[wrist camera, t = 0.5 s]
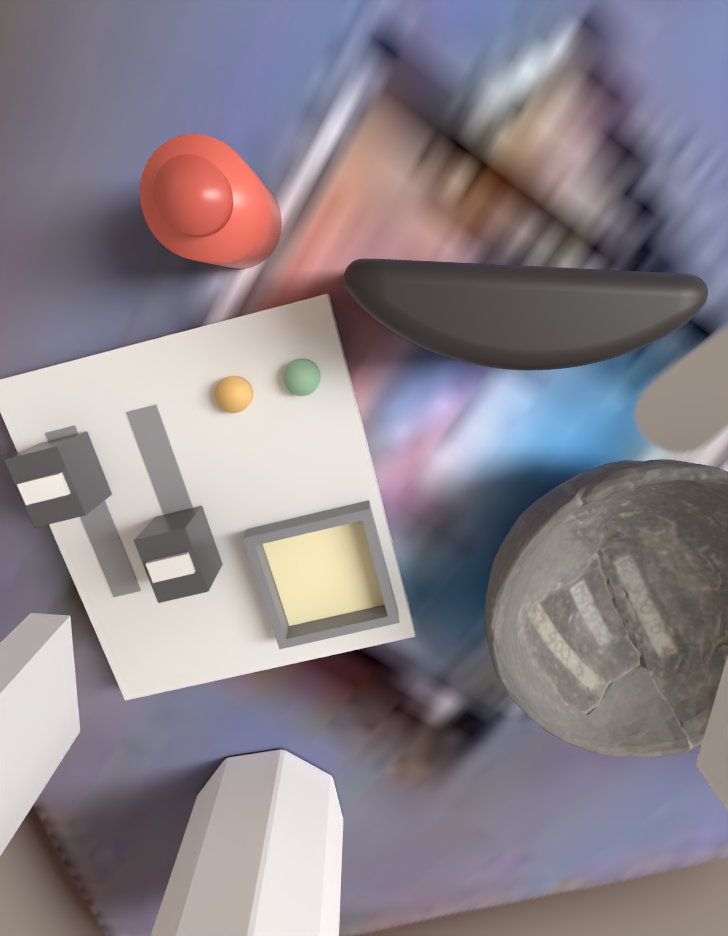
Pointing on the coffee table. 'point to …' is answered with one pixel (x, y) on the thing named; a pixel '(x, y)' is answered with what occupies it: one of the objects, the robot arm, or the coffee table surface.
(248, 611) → the panel
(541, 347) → the leaning round-cornered charcoal block
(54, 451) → the breaker
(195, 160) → the cap
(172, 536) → the breaker
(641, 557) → the bowl
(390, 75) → the coffee table surface
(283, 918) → the white canister
